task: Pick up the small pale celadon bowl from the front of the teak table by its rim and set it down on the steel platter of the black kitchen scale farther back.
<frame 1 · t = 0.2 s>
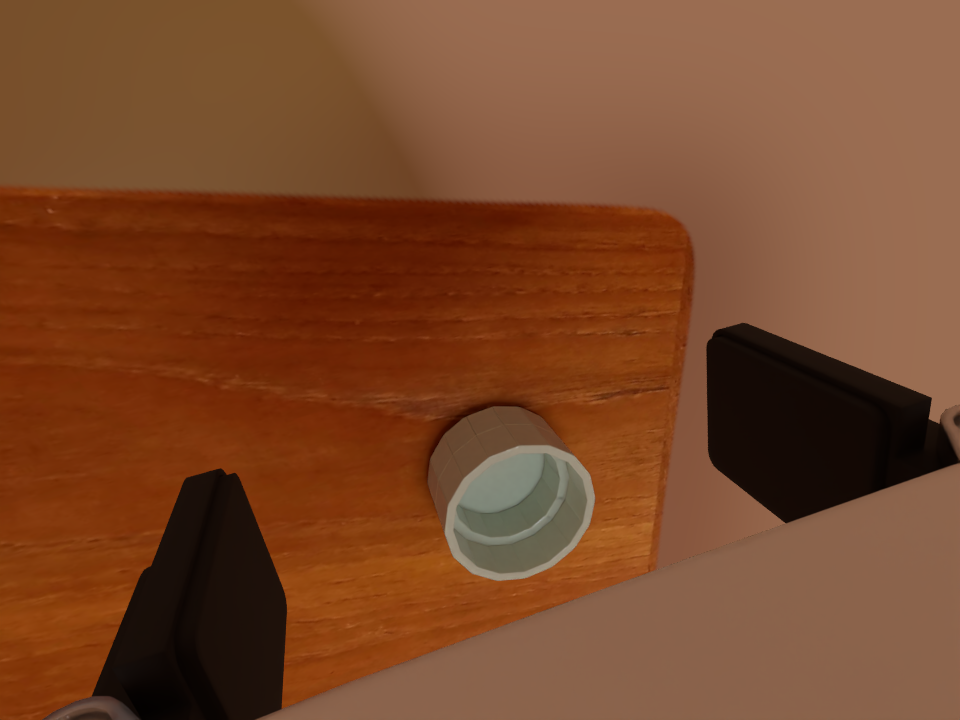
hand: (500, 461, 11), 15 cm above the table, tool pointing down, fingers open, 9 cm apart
bowl: (492, 463, 29), on the table
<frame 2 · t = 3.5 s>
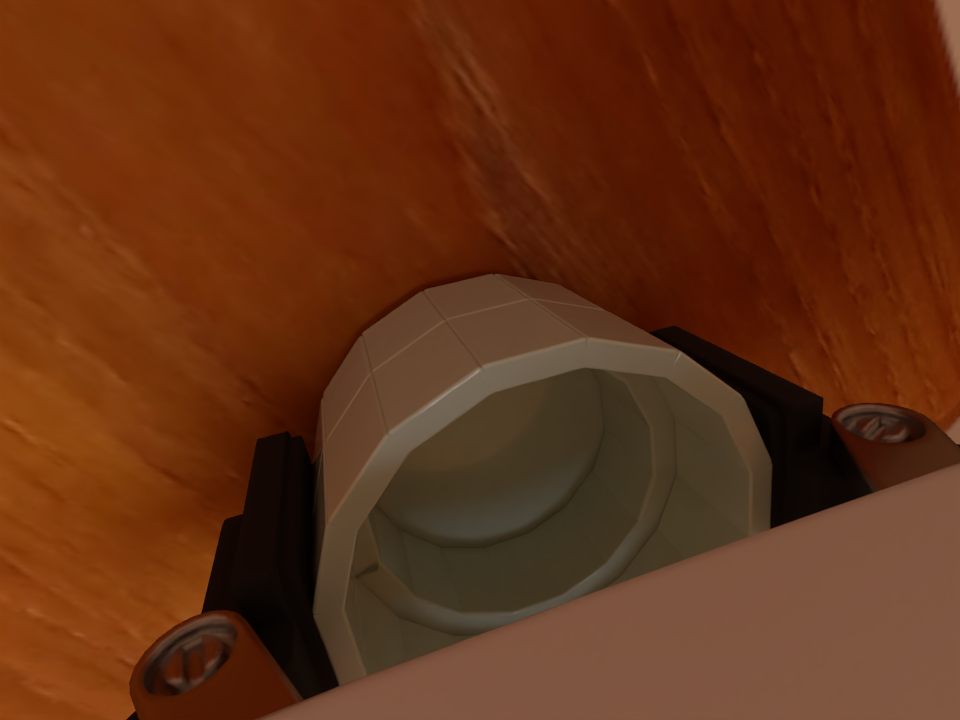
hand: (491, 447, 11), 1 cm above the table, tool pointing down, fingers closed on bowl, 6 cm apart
bowl: (481, 429, 12), on the table, touching gripper
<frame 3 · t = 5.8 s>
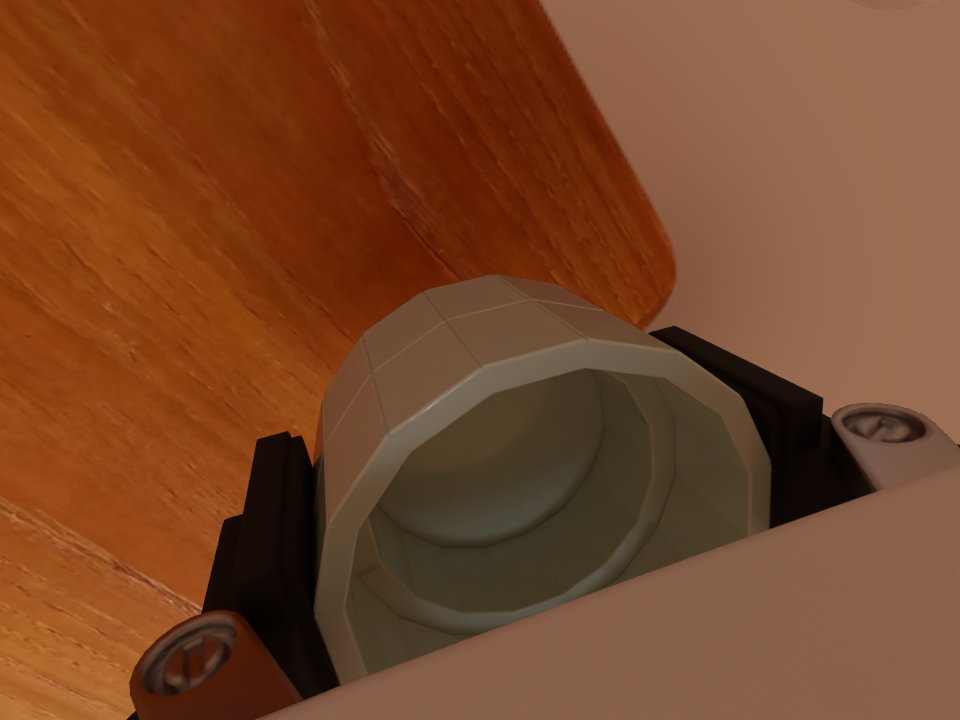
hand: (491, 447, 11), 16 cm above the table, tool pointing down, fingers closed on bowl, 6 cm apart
bowl: (481, 430, 12), point 15 cm above the table, touching gripper
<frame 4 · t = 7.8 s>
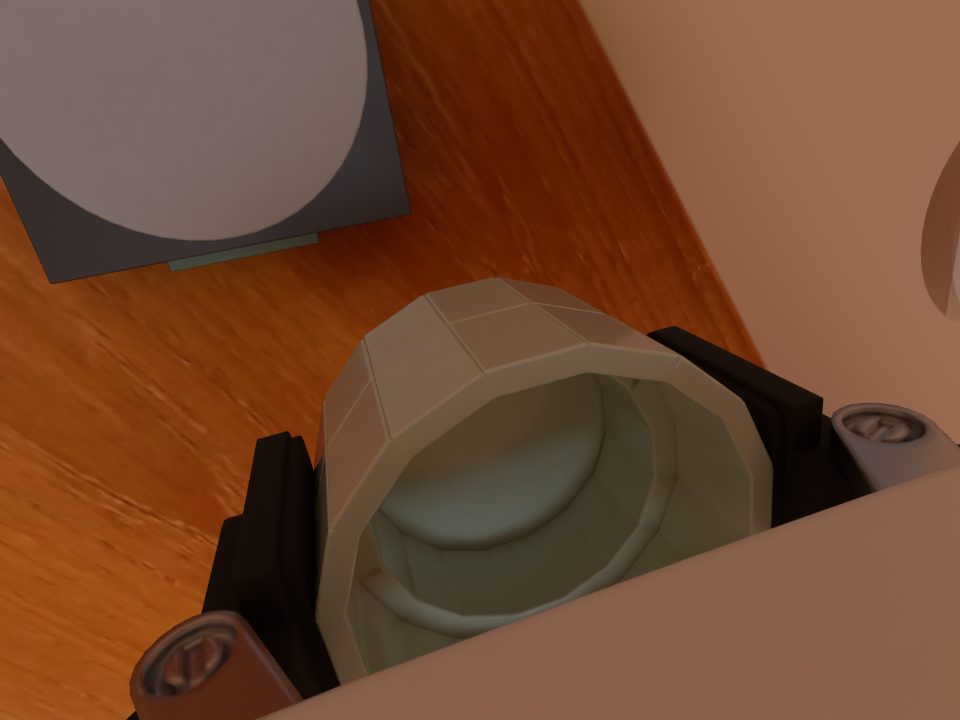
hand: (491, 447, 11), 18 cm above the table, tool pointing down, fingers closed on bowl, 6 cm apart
scale: (195, 63, 23), on the table
bowl: (482, 432, 12), point 17 cm above the table, touching gripper
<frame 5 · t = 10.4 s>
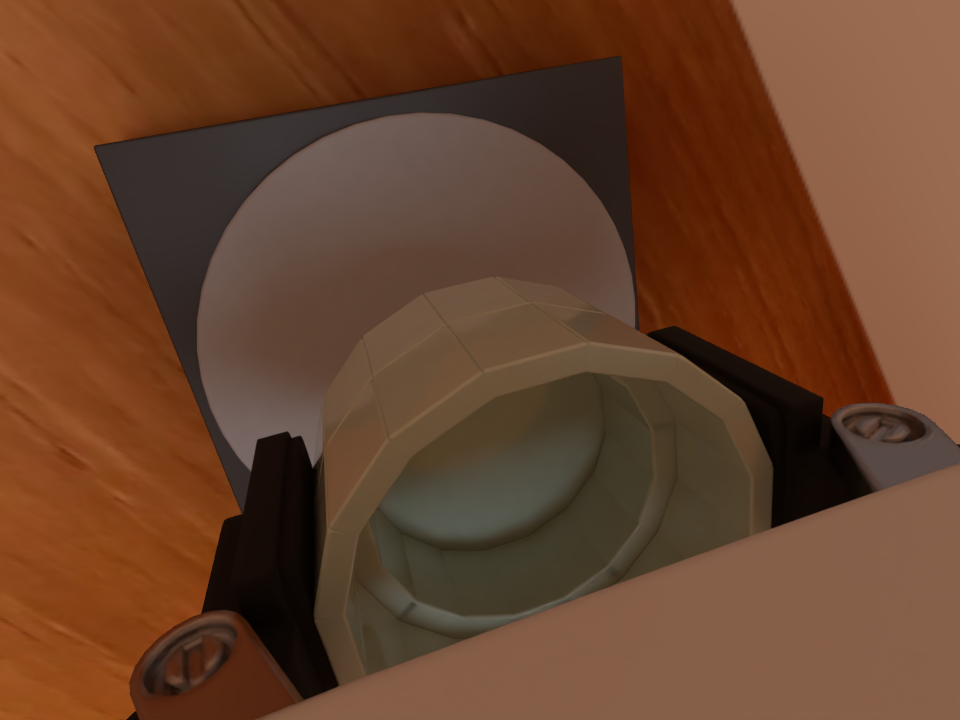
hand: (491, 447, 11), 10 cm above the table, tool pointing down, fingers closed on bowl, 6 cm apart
scale: (417, 317, 20), on the table
bowl: (482, 432, 12), point 9 cm above the table, touching gripper
when the fingers open (5 cm above the table, at t = 12.2 s): bowl stays where it is, resting on scale.
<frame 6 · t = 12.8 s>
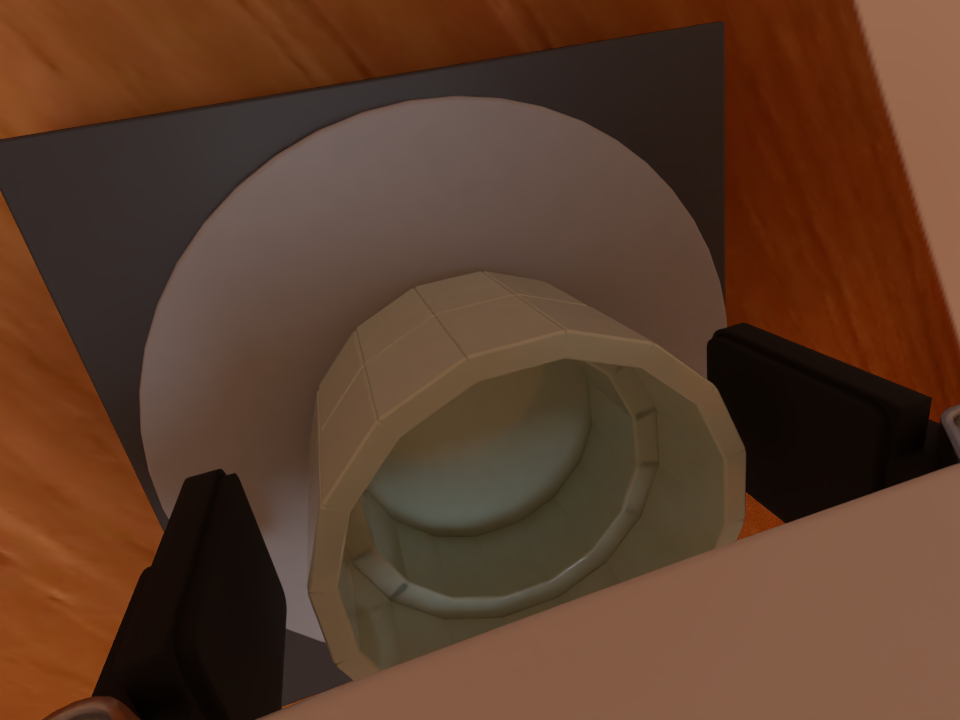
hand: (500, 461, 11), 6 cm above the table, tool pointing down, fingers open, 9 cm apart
scale: (438, 362, 16), on the table
bowl: (472, 422, 13), point 4 cm above the table, touching scale
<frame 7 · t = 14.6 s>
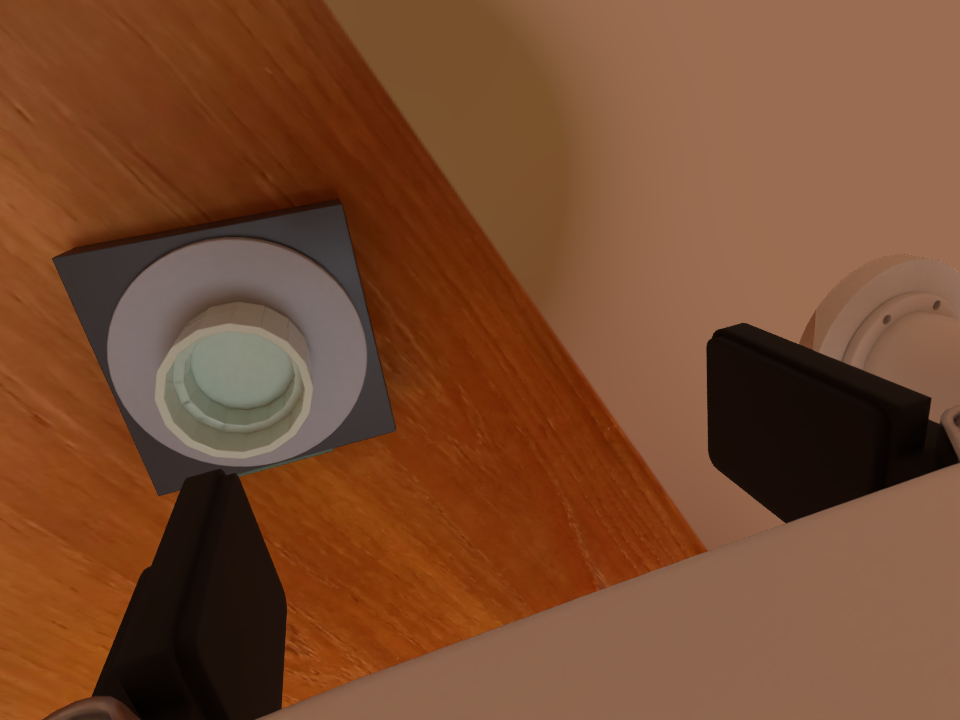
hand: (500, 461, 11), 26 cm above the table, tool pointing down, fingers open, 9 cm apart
scale: (250, 339, 34), on the table
bowl: (245, 361, 31), point 4 cm above the table, touching scale
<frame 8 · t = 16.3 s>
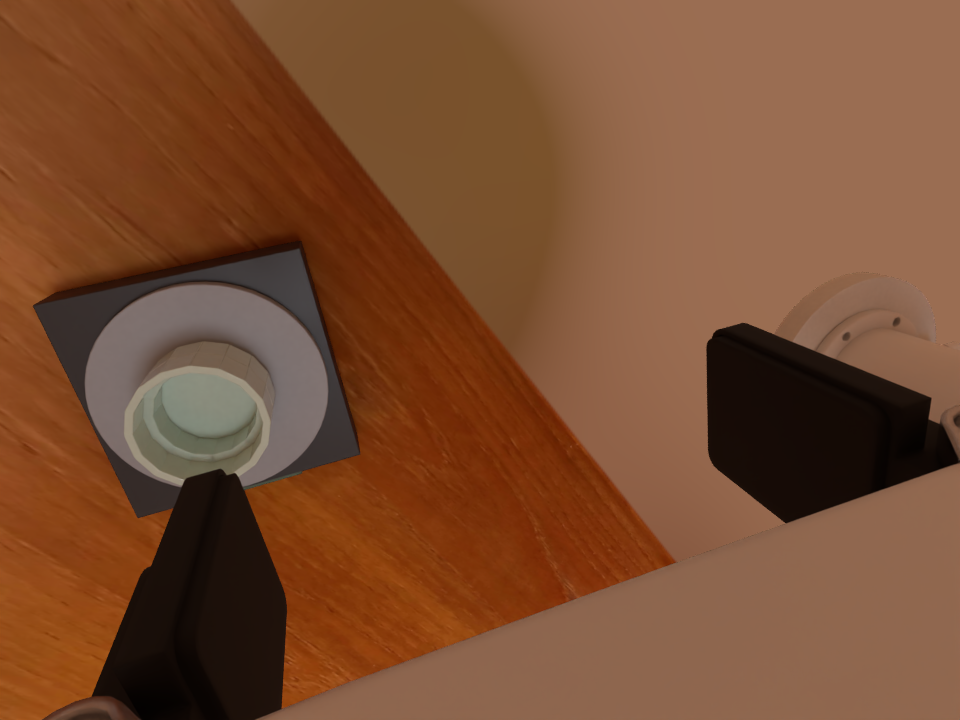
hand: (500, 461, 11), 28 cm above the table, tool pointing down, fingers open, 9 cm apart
scale: (222, 371, 37), on the table
bowl: (213, 394, 33), point 4 cm above the table, touching scale
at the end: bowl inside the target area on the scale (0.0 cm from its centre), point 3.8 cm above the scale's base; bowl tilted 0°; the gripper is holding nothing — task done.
